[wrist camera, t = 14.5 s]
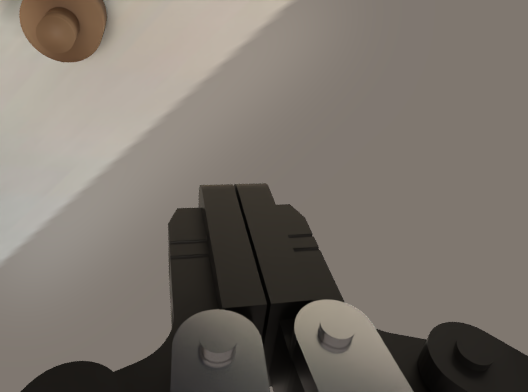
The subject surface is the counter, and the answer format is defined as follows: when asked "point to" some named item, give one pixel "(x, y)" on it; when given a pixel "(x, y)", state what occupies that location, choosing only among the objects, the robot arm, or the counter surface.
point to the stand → (64, 27)
